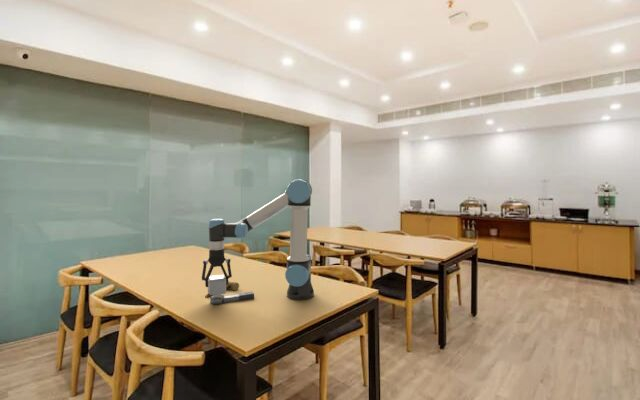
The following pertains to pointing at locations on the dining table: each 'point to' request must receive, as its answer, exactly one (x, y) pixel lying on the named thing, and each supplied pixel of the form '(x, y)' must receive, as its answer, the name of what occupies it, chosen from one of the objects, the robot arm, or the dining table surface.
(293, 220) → the robot arm
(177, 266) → the dining table surface
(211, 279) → the brushed metal cube
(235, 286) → the gavel
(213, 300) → the ratchet
